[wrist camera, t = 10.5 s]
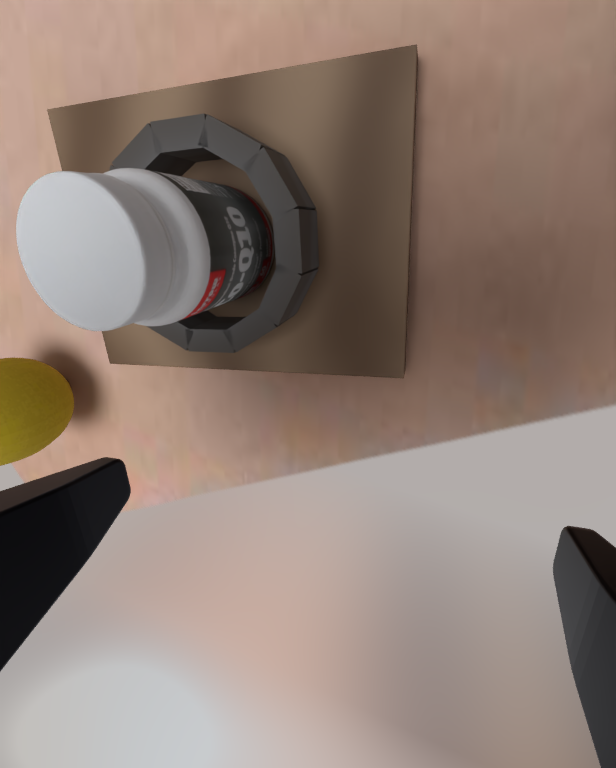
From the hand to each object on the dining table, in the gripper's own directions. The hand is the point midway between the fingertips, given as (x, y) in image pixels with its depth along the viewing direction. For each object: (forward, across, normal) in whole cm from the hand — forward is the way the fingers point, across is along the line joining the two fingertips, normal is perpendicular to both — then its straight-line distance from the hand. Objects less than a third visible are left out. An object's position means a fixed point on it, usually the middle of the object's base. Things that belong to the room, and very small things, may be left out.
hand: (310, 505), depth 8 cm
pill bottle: (+11, +7, -5) cm, 14 cm away
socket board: (+12, +7, -5) cm, 15 cm away
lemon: (+12, +20, +4) cm, 23 cm away
